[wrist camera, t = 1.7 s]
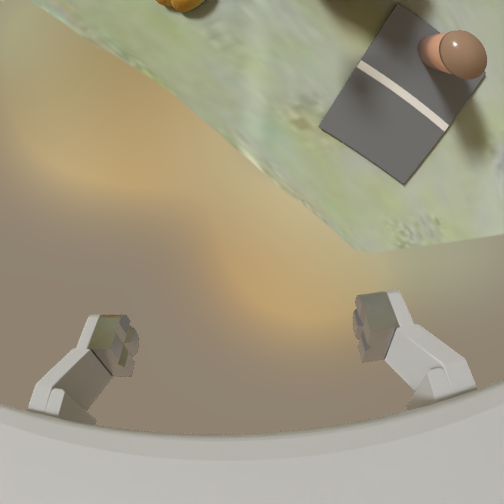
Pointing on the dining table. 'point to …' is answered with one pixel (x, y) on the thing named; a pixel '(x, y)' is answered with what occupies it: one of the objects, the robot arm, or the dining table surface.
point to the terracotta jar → (453, 54)
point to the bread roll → (181, 4)
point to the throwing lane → (397, 99)
